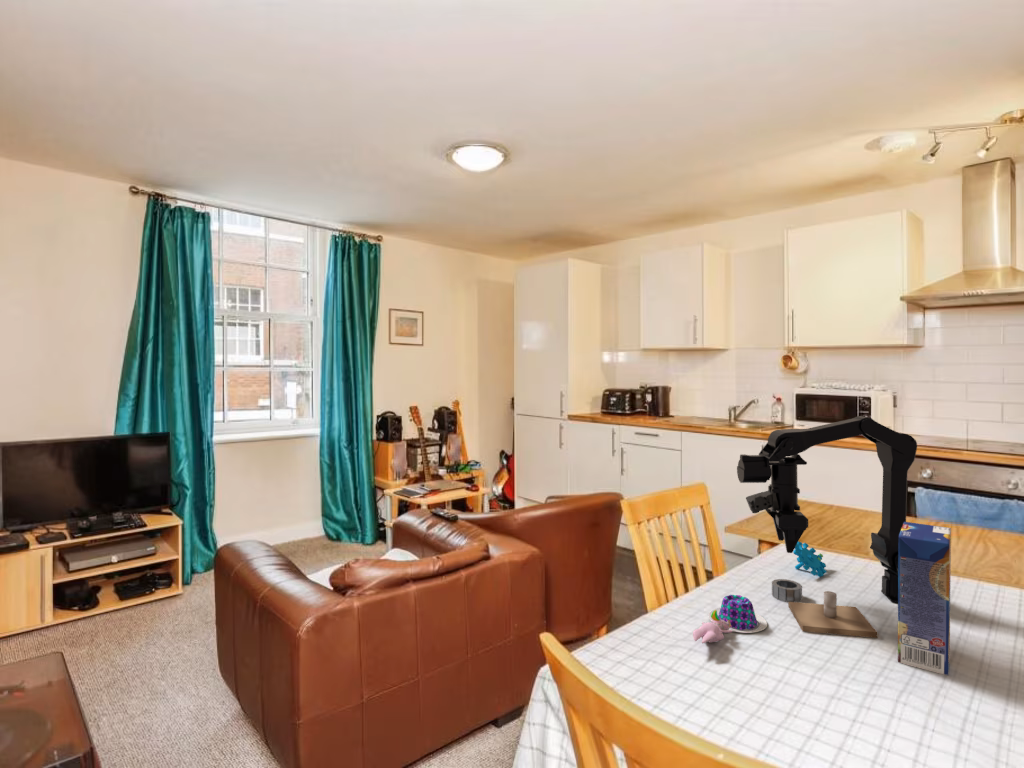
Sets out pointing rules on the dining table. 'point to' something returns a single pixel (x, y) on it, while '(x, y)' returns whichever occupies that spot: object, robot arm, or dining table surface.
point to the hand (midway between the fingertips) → (785, 546)
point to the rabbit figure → (712, 629)
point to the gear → (809, 559)
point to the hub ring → (786, 590)
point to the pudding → (739, 614)
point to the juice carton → (924, 596)
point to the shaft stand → (831, 618)
